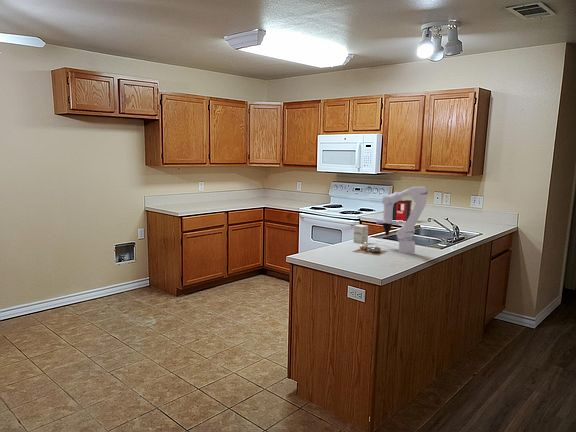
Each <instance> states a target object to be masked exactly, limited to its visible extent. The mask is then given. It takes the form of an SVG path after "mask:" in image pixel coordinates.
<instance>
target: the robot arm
mask: <svg viewBox="0 0 576 432" xmlns="http://www.w3.org/2000/svg"><path fill="white" fill-rule="evenodd" d="M429 193H430V192H429V190H428V188H427V186H424V185H422V186H412V187H411V186H410V187H409V188H406V189H405V190H402V191H401V192H399V191H393V193H391V194H388V195H384V196H383V197H382V199H381V202H382V204H383V215H382V216H383V218H382V219H378V220H376V221H375V222H376V224H382V226H383V229H384V232H385V236H389V233H390V230H391V229H392V226H393V225H394V226H395V225H396V226H399V225H400V222H396V221H392V214H393V206H394V203H395V202H398V201H400V200H403V198H405V197H409V196H411V198H412V201H414V203H415V204H414V206H413V208H412V209H411V214H410V216H409V217H408V219H407V221H406V223H404V224H403V225H401V227H400V228H399V229H398V230H397V231H396V237H397V239H398V252H399V253H401V254H410V255H415V253H416V242H415V240H413V238H414V236H415V231H416V229H415V227H416V224H417V222H418V220H419V218H420V216H421V215H422V213H423V211H424V208H425V207H426V205H427V199H428V196H429Z"/></svg>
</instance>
